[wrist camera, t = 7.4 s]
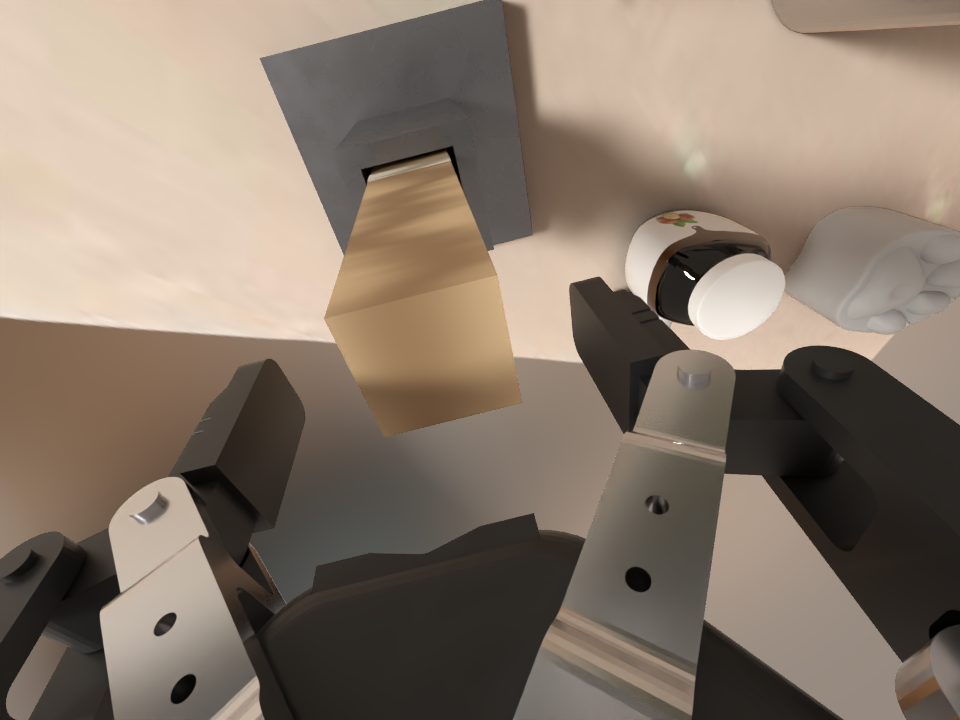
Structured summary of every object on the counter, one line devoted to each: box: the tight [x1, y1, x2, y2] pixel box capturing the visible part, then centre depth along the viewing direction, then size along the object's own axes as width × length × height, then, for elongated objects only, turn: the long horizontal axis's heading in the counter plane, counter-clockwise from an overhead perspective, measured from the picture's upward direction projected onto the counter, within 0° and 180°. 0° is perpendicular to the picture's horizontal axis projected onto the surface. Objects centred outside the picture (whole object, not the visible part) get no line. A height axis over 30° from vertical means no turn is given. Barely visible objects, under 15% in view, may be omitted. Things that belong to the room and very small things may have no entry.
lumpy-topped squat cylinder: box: [785, 206, 960, 335], centre depth 41 cm, size 10×13×9 cm
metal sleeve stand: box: [260, 0, 533, 255], centre depth 27 cm, size 16×16×14 cm
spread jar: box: [625, 210, 786, 340], centre depth 37 cm, size 12×11×12 cm
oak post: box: [324, 148, 522, 437], centre depth 18 cm, size 4×4×20 cm
